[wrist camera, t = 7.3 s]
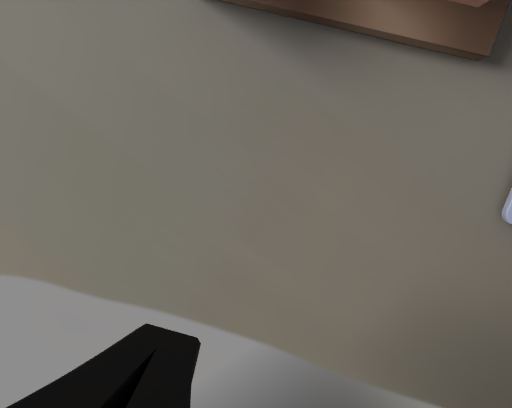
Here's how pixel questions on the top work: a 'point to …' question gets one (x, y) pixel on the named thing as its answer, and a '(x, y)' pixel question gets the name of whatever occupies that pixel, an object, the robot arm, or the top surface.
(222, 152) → the top surface
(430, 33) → the cargo strip
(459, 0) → the terracotta block
